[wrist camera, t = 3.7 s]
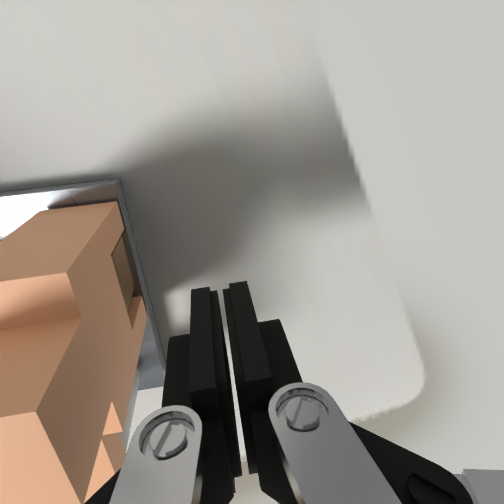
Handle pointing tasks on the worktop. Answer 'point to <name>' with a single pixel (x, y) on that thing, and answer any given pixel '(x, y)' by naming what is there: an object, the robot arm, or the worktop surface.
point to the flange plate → (78, 194)
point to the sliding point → (65, 356)
